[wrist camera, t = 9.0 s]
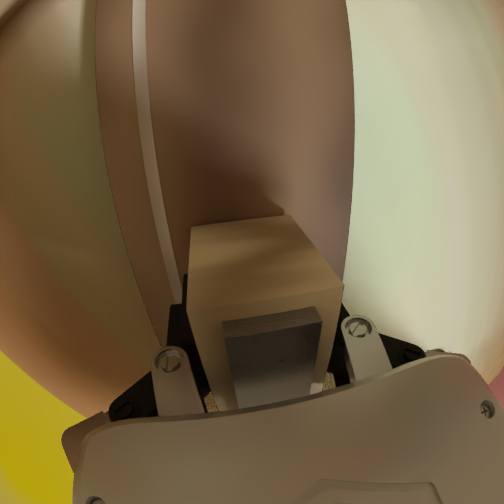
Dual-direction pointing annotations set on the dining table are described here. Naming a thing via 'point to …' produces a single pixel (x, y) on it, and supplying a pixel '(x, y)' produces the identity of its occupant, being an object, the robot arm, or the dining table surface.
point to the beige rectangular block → (261, 310)
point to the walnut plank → (223, 126)
